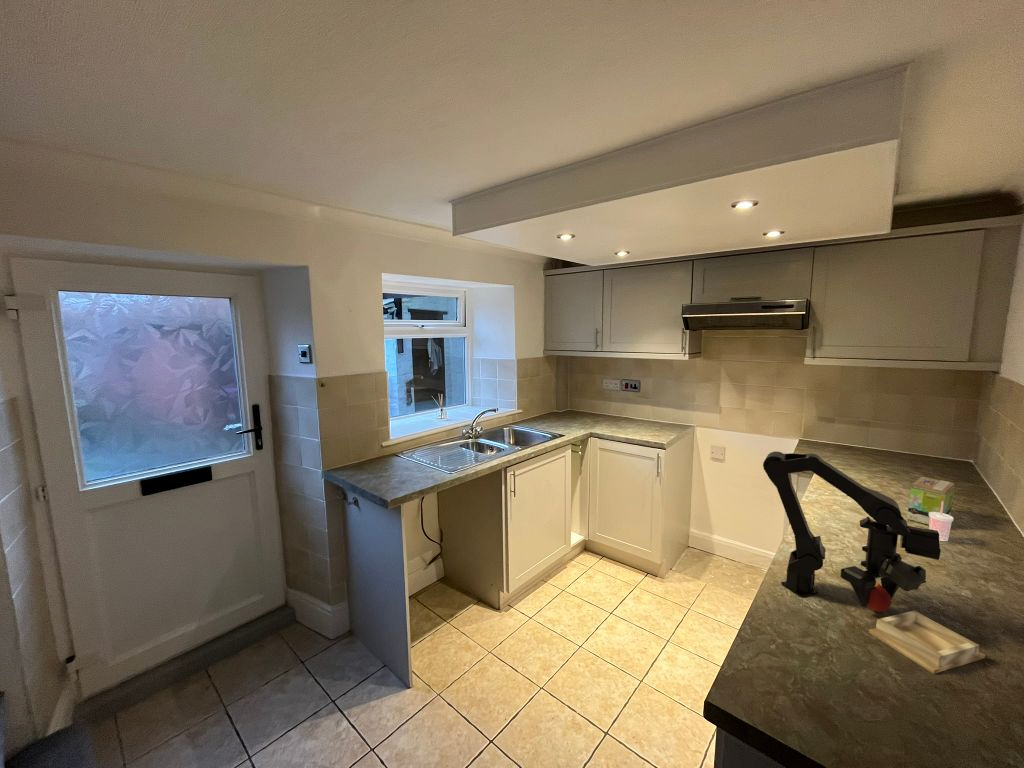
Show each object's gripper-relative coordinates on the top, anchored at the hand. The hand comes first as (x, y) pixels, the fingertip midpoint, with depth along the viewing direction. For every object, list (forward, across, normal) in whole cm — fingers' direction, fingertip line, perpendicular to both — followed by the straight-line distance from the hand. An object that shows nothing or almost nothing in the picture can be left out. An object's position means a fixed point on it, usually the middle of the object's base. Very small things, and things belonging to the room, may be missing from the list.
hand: (875, 603), depth 111 cm
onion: (+2, 0, 0) cm, 2 cm away
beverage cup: (+2, +61, +22) cm, 65 cm away
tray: (+2, -2, -12) cm, 12 cm away
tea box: (+2, +77, +34) cm, 84 cm away
